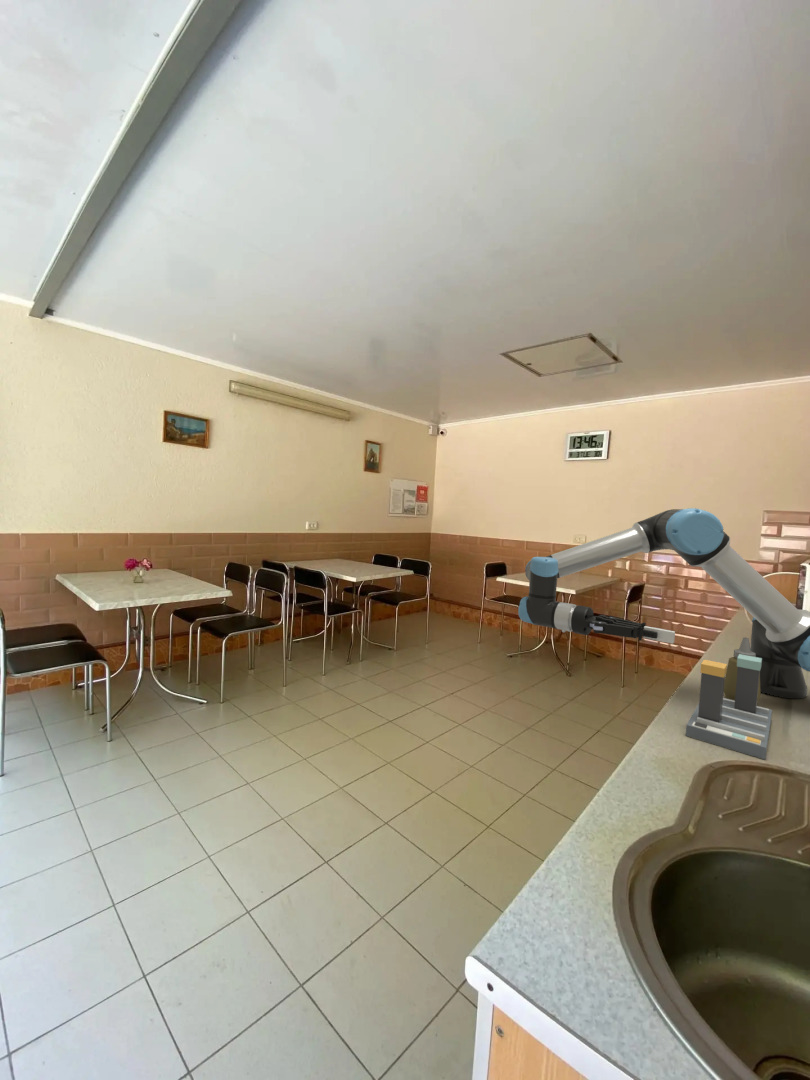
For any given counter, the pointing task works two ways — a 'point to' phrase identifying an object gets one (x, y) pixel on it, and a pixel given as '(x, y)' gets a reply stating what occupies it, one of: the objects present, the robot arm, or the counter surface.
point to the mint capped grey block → (747, 683)
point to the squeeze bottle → (732, 670)
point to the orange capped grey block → (712, 690)
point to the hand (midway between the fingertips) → (673, 637)
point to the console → (734, 729)
